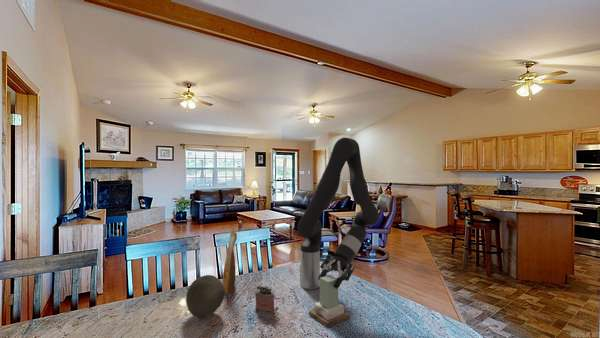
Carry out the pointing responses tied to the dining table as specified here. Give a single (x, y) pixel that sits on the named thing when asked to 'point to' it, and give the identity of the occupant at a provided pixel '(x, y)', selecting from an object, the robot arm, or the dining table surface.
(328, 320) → the build base
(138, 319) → the dining table surface
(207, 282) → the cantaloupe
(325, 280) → the green post
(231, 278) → the pancake mix bag
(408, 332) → the dining table surface
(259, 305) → the lighter
